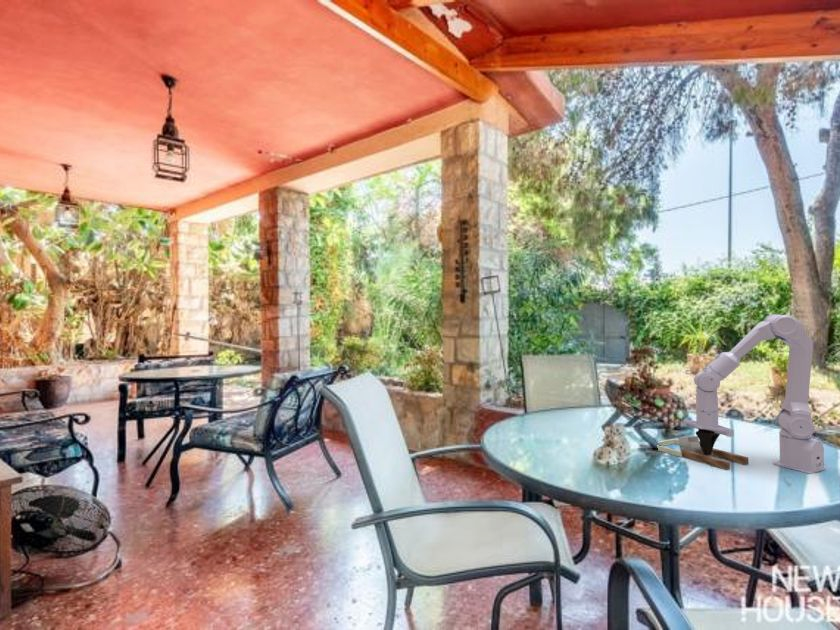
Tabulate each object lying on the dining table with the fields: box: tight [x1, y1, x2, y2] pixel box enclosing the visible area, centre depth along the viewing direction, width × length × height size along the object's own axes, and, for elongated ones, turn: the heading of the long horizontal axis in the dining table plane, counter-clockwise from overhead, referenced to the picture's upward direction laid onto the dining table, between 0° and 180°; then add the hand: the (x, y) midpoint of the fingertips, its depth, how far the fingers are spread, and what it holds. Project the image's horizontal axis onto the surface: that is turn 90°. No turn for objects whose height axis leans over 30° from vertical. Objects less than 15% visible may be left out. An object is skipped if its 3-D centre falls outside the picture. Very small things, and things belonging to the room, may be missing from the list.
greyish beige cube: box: [677, 435, 700, 451], centre depth 148 cm, size 4×4×4 cm
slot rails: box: [680, 447, 750, 471], centre depth 140 cm, size 14×10×2 cm
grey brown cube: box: [689, 440, 714, 457], centre depth 144 cm, size 4×4×4 cm
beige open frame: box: [657, 438, 683, 458], centre depth 151 cm, size 11×12×2 cm
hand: (707, 454), depth 142 cm, fingers closed, pressing on grey brown cube
